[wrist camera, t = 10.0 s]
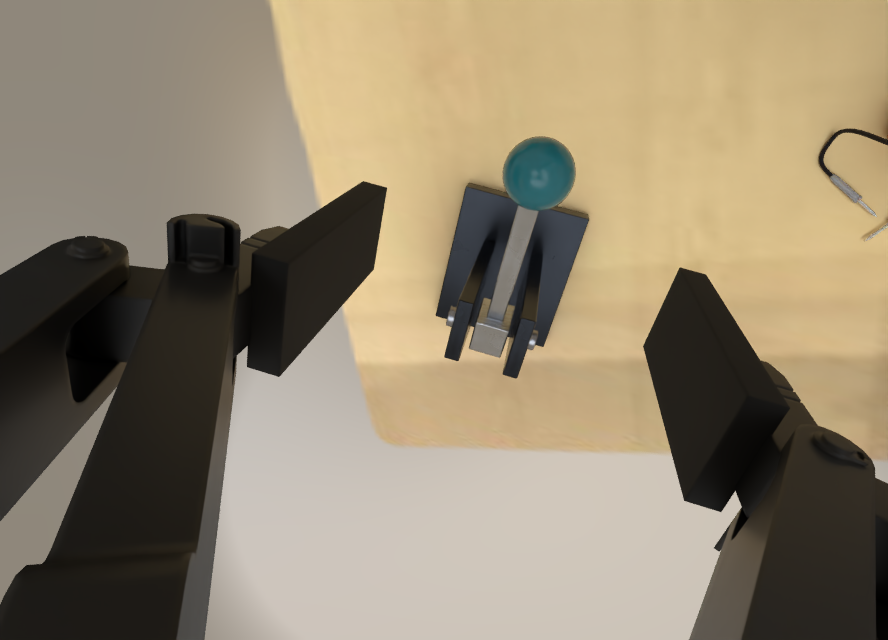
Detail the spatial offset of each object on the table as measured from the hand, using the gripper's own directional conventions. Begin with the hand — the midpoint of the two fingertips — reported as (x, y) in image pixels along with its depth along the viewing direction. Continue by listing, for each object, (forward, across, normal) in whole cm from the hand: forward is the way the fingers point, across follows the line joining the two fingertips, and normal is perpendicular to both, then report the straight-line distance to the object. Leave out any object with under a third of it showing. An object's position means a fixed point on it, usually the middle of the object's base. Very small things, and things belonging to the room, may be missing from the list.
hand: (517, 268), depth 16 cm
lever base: (+28, 0, -11) cm, 30 cm away
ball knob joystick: (+16, 0, -4) cm, 17 cm away
